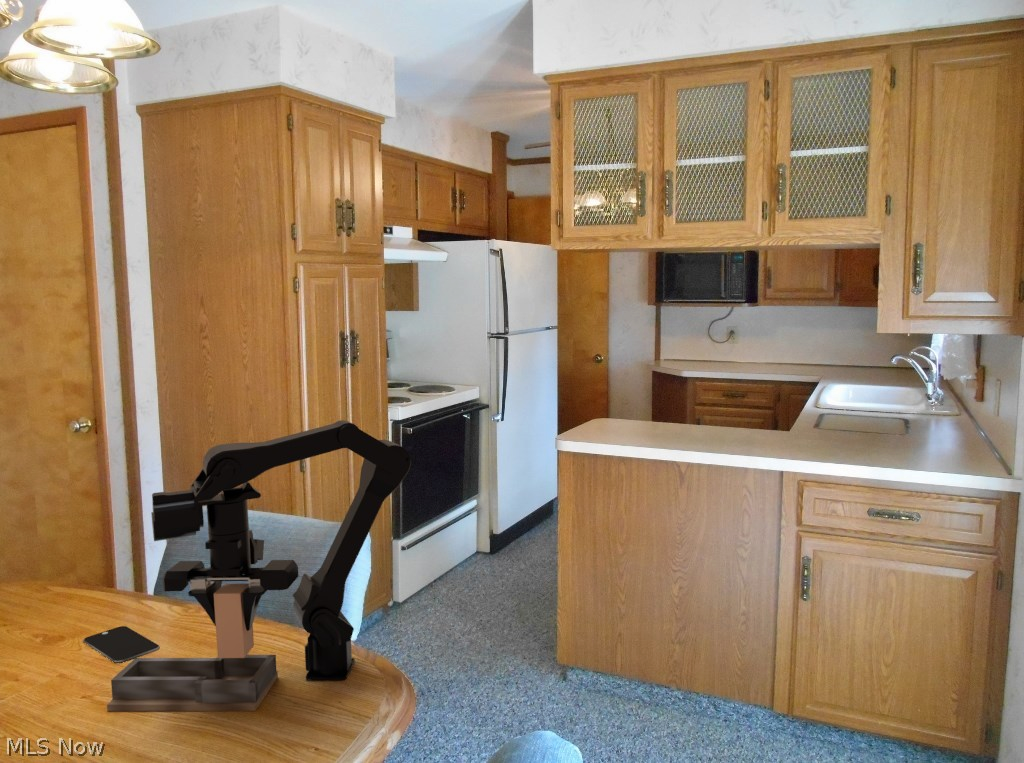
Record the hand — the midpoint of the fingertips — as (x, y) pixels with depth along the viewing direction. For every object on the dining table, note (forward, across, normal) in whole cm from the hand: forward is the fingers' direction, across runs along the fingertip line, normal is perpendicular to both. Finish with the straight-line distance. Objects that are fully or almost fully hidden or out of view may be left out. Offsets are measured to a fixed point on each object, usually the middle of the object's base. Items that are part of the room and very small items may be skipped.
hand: (234, 629), depth 115 cm
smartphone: (+11, +28, -17) cm, 34 cm away
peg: (+4, 0, 0) cm, 4 cm away
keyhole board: (+10, +7, 0) cm, 12 cm away
